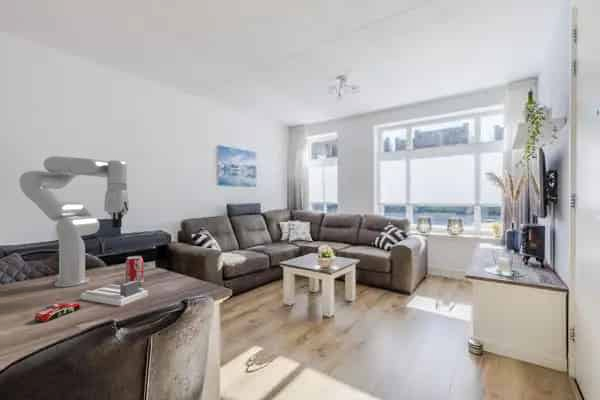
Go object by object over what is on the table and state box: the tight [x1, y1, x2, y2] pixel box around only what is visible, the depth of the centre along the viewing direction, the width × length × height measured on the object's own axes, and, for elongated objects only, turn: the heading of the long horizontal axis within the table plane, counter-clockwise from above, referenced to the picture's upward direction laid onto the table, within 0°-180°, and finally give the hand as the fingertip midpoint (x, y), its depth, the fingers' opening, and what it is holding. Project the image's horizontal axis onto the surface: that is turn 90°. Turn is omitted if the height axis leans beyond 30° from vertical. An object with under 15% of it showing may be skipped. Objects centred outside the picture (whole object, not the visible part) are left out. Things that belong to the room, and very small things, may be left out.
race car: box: [34, 301, 81, 322], centre depth 97 cm, size 13×5×4 cm, turn 165°
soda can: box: [125, 255, 144, 286], centre depth 130 cm, size 7×7×13 cm
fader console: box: [80, 283, 149, 307], centre depth 114 cm, size 22×12×3 cm, turn 71°
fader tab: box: [119, 281, 140, 297], centre depth 111 cm, size 3×6×4 cm, turn 161°
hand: (117, 227), depth 128 cm, fingers closed
